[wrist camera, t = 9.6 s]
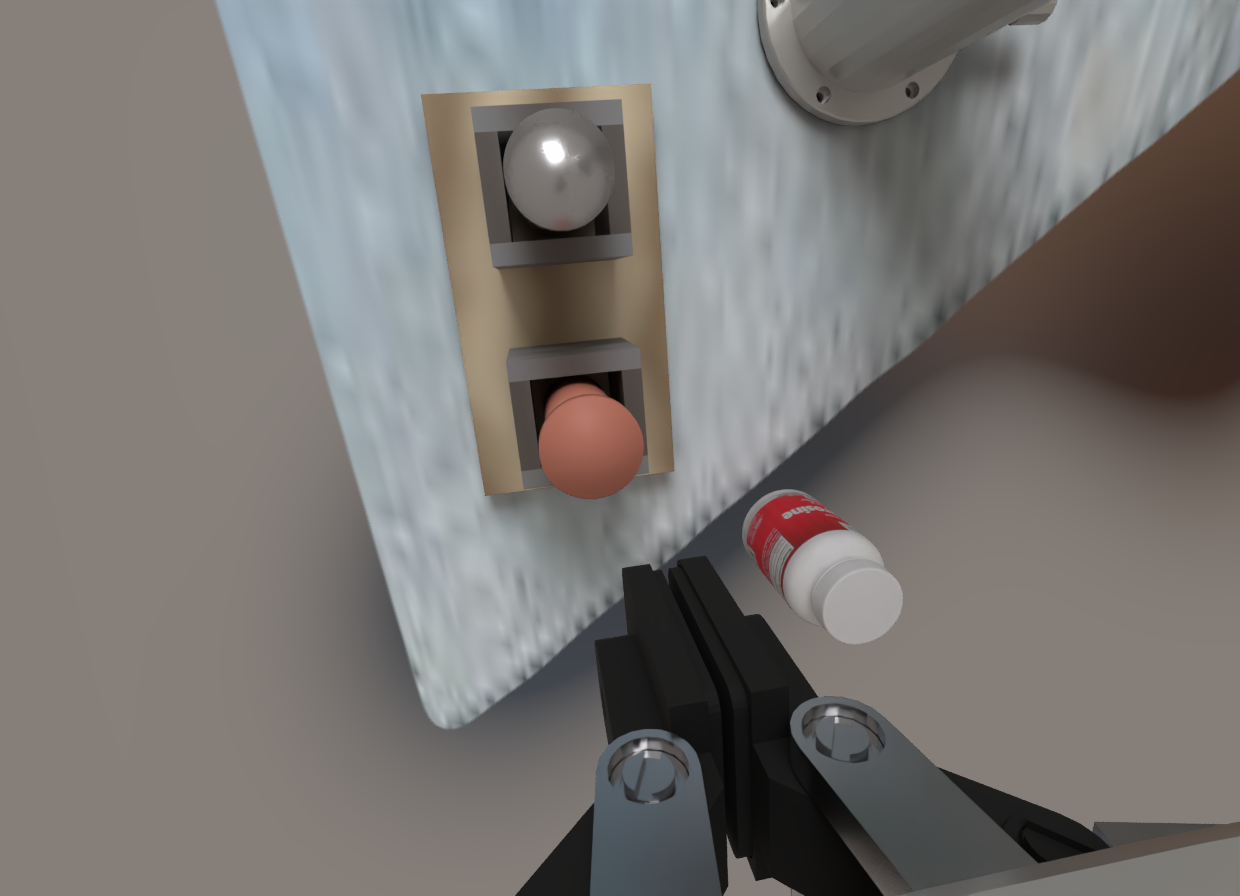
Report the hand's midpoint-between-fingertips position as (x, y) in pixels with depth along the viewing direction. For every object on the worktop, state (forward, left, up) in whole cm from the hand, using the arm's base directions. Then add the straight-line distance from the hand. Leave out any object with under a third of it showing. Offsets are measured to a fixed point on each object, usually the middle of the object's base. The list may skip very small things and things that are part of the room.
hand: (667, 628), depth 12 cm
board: (0, -5, -27) cm, 28 cm away
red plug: (0, 0, -22) cm, 22 cm away
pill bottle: (-14, +12, -27) cm, 33 cm away
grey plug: (0, -11, -24) cm, 27 cm away
